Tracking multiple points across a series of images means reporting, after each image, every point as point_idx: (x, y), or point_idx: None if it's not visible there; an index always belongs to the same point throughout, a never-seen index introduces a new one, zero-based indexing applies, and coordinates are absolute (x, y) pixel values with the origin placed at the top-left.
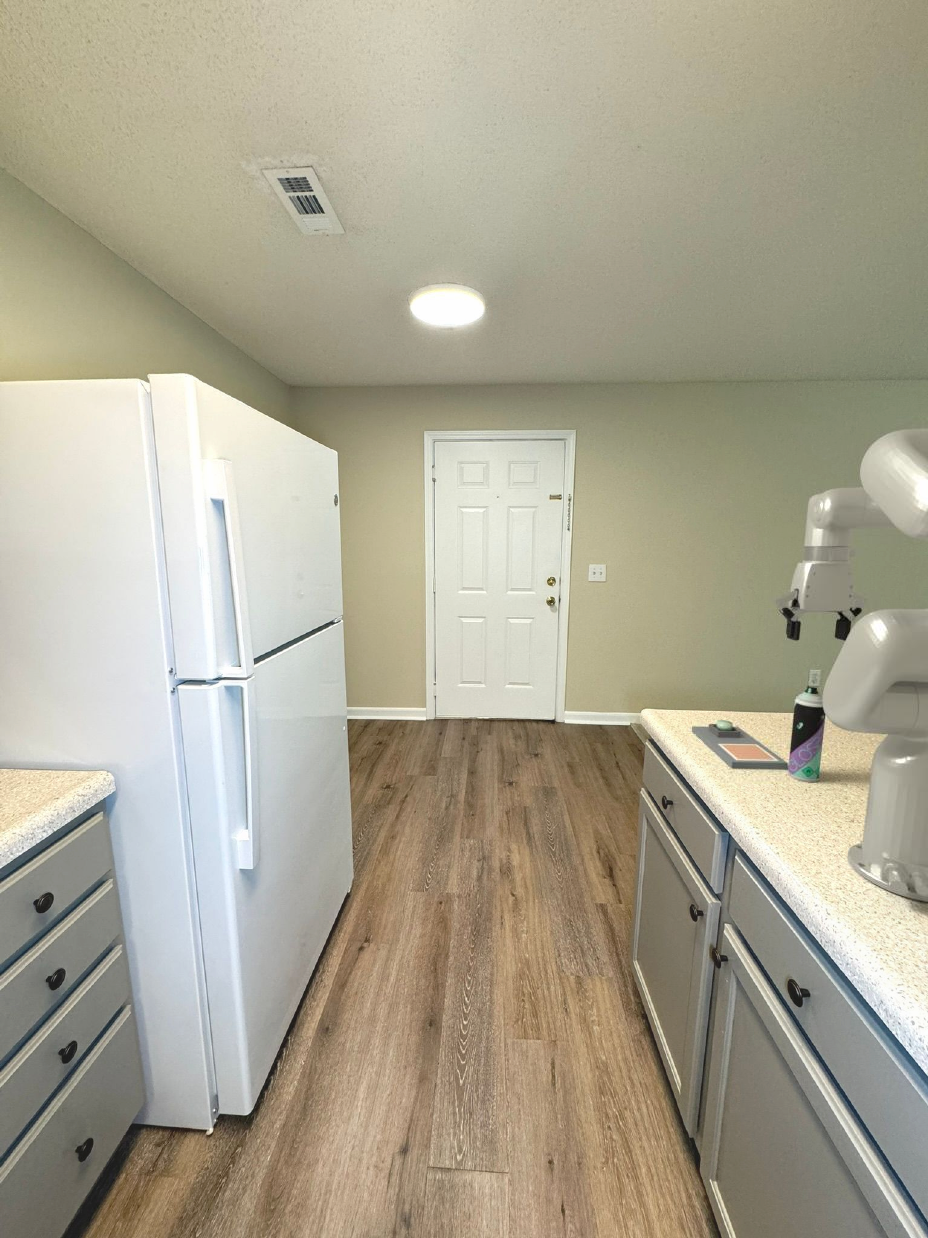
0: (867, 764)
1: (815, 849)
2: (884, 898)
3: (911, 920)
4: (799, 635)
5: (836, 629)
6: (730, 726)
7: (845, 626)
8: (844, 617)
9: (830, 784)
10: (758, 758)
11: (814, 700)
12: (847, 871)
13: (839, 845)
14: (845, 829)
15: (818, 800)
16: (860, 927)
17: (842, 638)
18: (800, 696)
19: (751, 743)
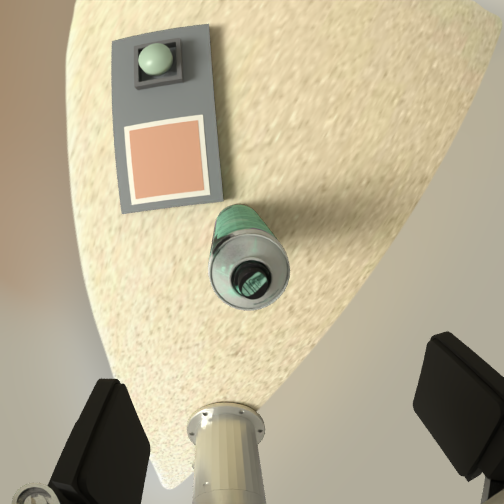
0: (376, 162)
1: (166, 405)
2: (194, 448)
3: None
4: (145, 469)
5: (457, 377)
6: (161, 71)
7: (450, 458)
8: (497, 470)
9: None
10: (174, 190)
11: (242, 306)
12: (181, 428)
13: (193, 398)
14: (217, 371)
15: (220, 307)
16: (163, 466)
17: (418, 398)
18: (217, 277)
19: (194, 109)
